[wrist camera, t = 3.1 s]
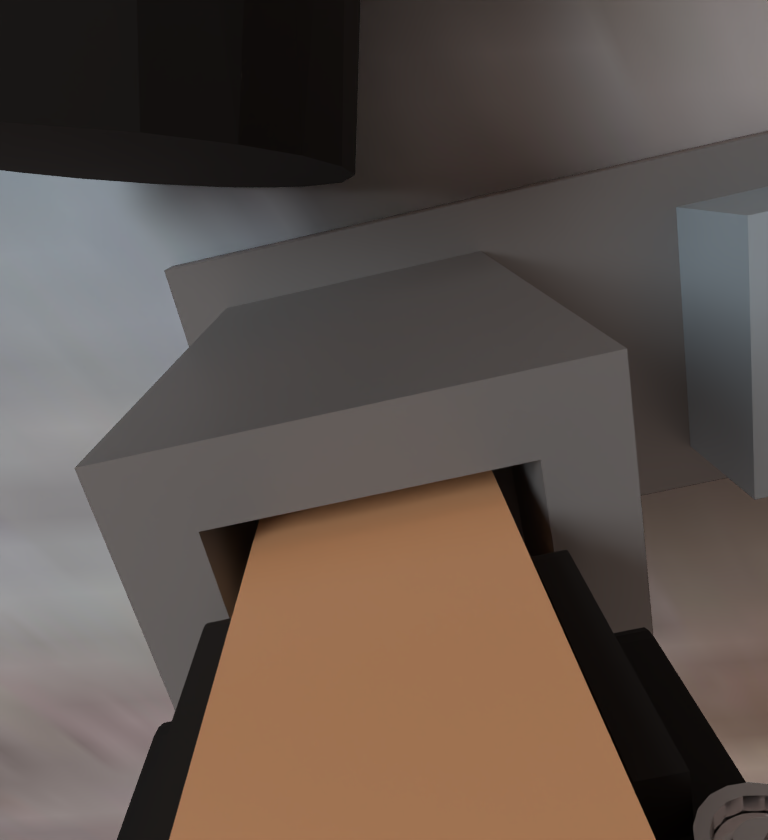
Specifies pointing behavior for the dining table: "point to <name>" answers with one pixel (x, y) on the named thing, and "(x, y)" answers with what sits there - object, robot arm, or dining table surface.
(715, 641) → the dining table surface
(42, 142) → the cable
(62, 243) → the dining table surface
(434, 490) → the peg
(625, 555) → the socket stand
